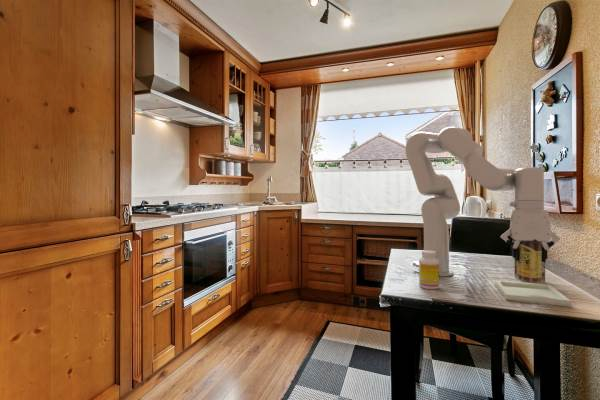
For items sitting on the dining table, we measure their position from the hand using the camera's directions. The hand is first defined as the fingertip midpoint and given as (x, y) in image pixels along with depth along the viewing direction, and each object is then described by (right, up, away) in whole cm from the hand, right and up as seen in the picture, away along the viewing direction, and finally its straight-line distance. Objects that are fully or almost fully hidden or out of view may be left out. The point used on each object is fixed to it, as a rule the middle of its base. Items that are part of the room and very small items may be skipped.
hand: (529, 260), depth 98 cm
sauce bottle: (0, -7, 0) cm, 7 cm away
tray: (0, -11, 0) cm, 11 cm away
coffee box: (+12, -11, +16) cm, 23 cm away
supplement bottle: (-28, -12, +10) cm, 32 cm away
